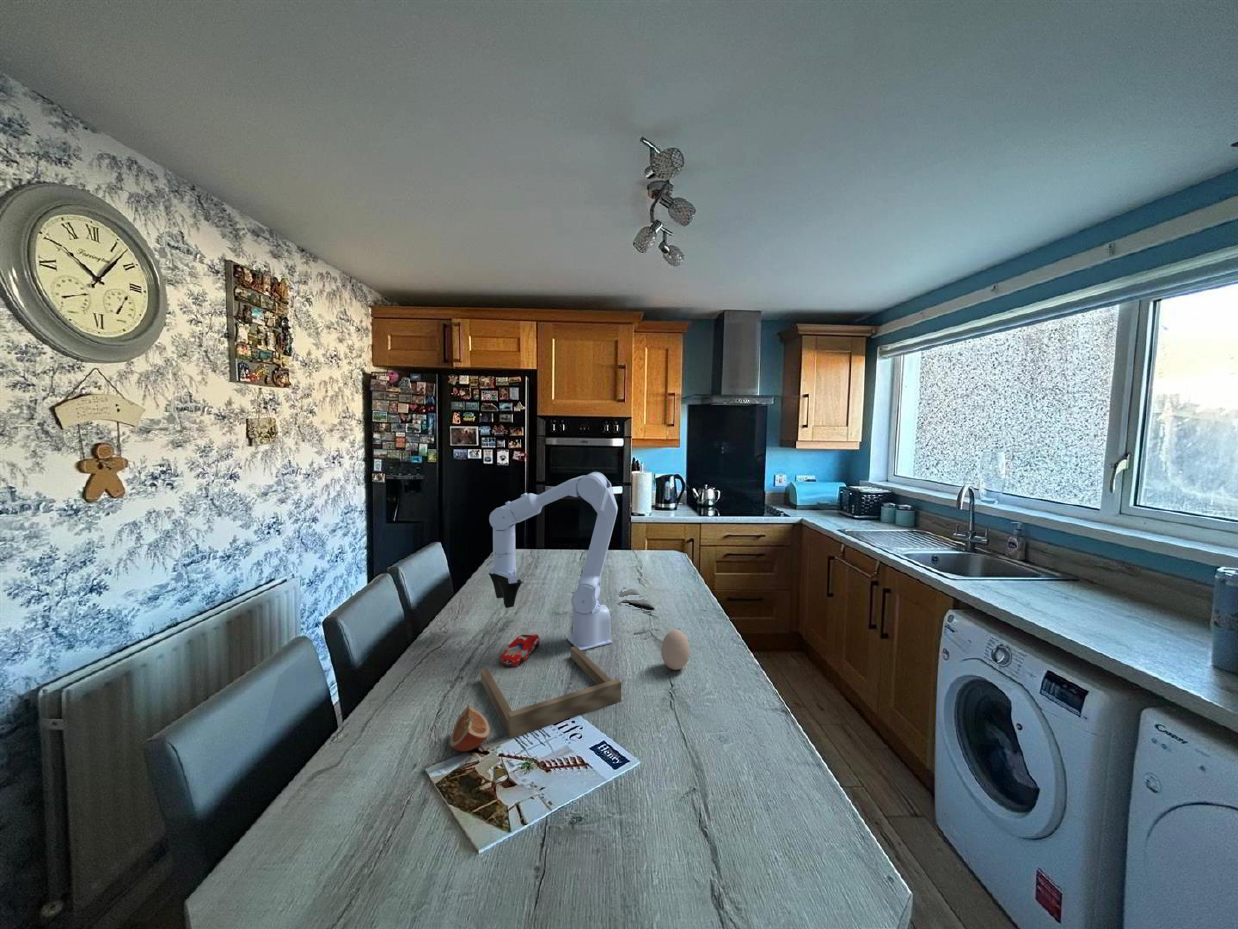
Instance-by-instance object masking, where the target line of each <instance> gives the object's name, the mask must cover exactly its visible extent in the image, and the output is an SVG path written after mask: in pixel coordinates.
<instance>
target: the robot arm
mask: <svg viewBox="0 0 1238 929" xmlns="http://www.w3.org/2000/svg"><path fill="white" fill-rule="evenodd" d="M568 496H569V497H570V496H571V497H575V498H578V497H579V496H580V497H581V498H582V499H583V500H584V501H586V502H587V503H589V505H591V506H592V508H593V509H594V511H595V512H596V514H597V515H596V520H595V524H594V528H593V532H592V536H591V540H590V543H589V547H588V552H587V555H586V560H585V563H584V567H583V572H582V574H581V577H580V579H579V580H580V581H579V582H578V585H577V588H576V590H575V591H574V592H573V594H572V596H571V601H570V602H571V606H572V635H570V636H567V637H566V639H567V640H568V642H570V644H571V645H573V647H575V646H577V647H578V648H579V649H580V650H581V651H582V652H583V651H586V650H589V649H593V648H597V647H600V646H605V645H608V644H611V643H613V641H612V639H611V638H612V637H611V636H612V635H611V634H612V633H611V632H612V631H611V628H612V627H611V625H612V618H611V613H610V610H609V608H608V606H607V605H605V604H601V603H600V601H599V598H600V596H601V594H602V586H601V580H602V573H603V568H604V565H605V562H606V556H607V553H608V550H609V545H610V542H611V539H612V538H611V537H612V534H613V530H614V527H615V523H616V519H617V514H618V510H619V507H618V504H617V500H616V497H615V495H614V492H613V488H612V483H611V481H610V480H608V478H607V477H606V476H605V475H604V474H603V473H601V472H600V471H599V472H598V471H593V472H590V473H588V474H586V475H580V476H577V477H574V478H571V479H568V480H566V481H565V482H561V483H560V484H558V485H556V486H553V487H552V488H550V489H548V490H546V491H544V492H542V493H540V494H535V493H532V492H531V493H530V492H529V493H528V492H525V493H523V494H520V497H519V498H517V499H515V500H512V501H510V500H508V501H506V502H505V503H504V504H505V505H502V506H500V507H496V508H495V509H494V510H492V511H491V512H490V514H489V516H488V517H489V518H488V520H489V524H490V527H492V561H493V562H492V563H493V565H492V568H489V569H488V575H489V577H490V579H491V581H492V585H493V590H494V592H495V597H496V599H498V600H499V599H503V605H504V609H509V608H514V606H515V603H516V599H517V598H516V597H517V594H518V591H519V589H520V587H521V585H522V580H521V579H520V578H519V579H518V574H517V566H516V565H517V564H516V560H517V559H516V524H517V523H521V522H523V521H525V520H528V519H529V518H530V519H531V518H532V517H534V516H537V515H539V514H540V513H541V512H542V509H543V507H544V506H546V505H548V504H550V503H553V502H556V501H558V500H560V499H564V498H565V497H568Z"/></svg>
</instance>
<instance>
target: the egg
mask: <svg viewBox="0 0 1238 929" xmlns="http://www.w3.org/2000/svg"><path fill="white" fill-rule="evenodd" d="M690 647H691V646H690V643H689V640H688V639H687V636H686V635H685V634H684V633H683V632H682V631H681V630H679V629H672V630H669V631H668V632H667V633H666V635H665V636H664V638H663V639H662V641H661V648H660V651H661V654H660V655H661V659H662V660H663V662H664V664H665V665H666V666H667V667H668V668H669V669H672V670H674V671H677V670H681V669H683V668H684V667H685V666H686V665H687V663H688V662H689V660H690V655H691V648H690Z"/></svg>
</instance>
